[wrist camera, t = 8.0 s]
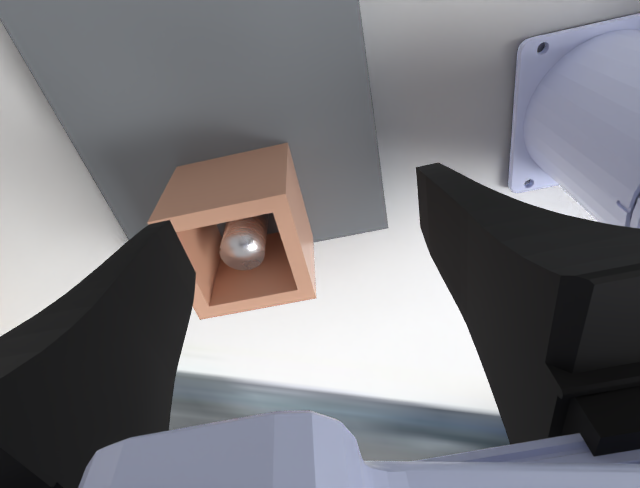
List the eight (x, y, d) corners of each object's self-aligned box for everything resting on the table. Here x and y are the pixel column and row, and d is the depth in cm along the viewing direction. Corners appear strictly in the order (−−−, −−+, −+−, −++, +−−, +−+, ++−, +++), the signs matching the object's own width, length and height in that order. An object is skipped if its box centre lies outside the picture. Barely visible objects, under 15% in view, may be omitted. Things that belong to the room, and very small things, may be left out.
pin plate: (310, -330, 13) (318, -472, 8) (383, 213, 25) (403, 274, 20) (-101, -204, 14) (-286, -271, 10) (156, 258, 26) (126, 325, 21)
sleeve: (287, 142, 20) (285, 193, 16) (312, 236, 23) (316, 298, 19) (176, 166, 21) (147, 222, 17) (216, 255, 24) (200, 319, 20)
